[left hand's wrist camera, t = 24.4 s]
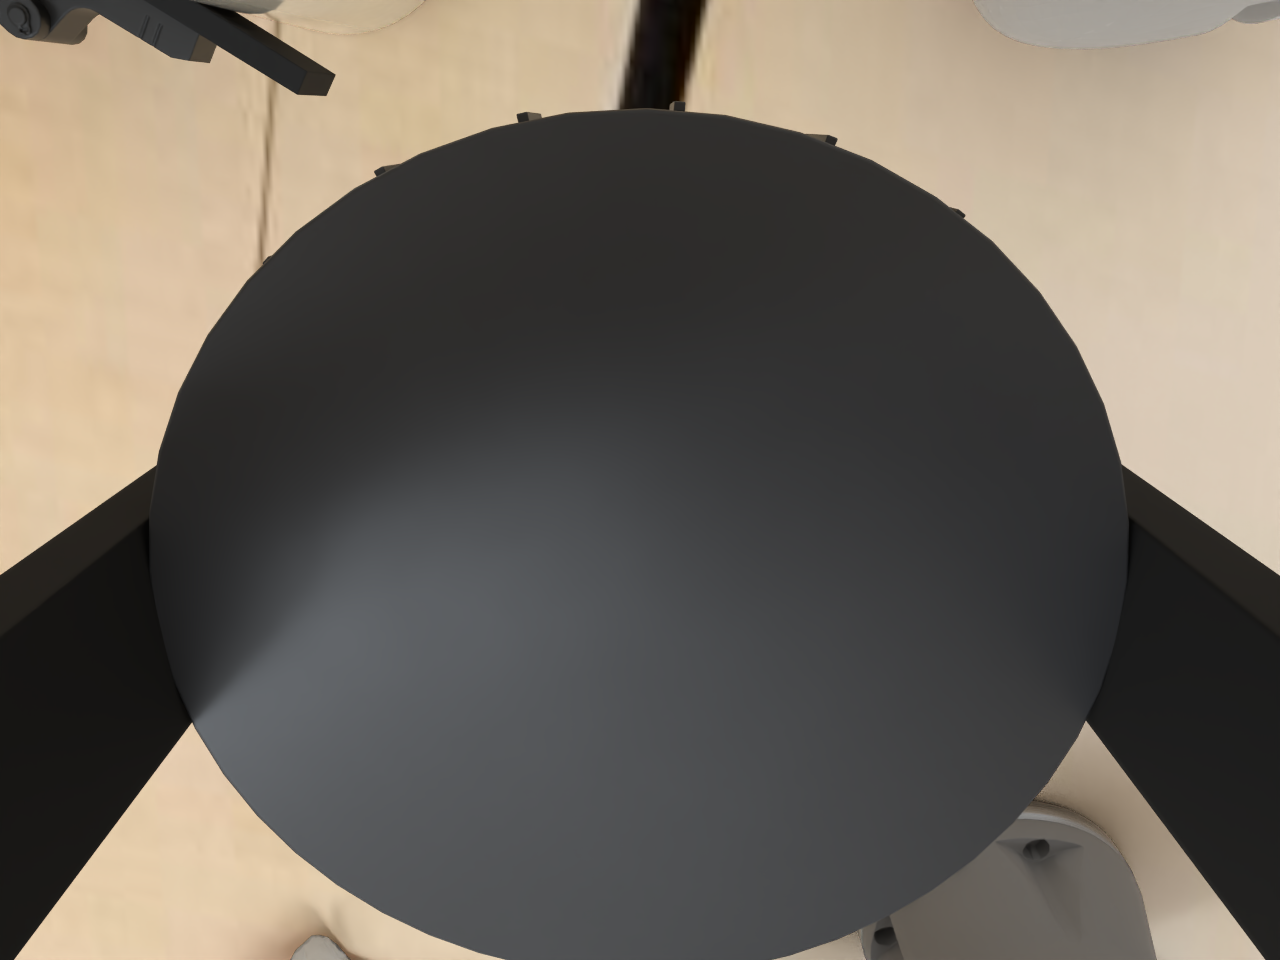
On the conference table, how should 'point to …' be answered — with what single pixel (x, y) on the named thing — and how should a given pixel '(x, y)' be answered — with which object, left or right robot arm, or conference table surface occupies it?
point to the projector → (1116, 20)
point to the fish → (319, 950)
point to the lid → (638, 540)
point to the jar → (324, 13)
